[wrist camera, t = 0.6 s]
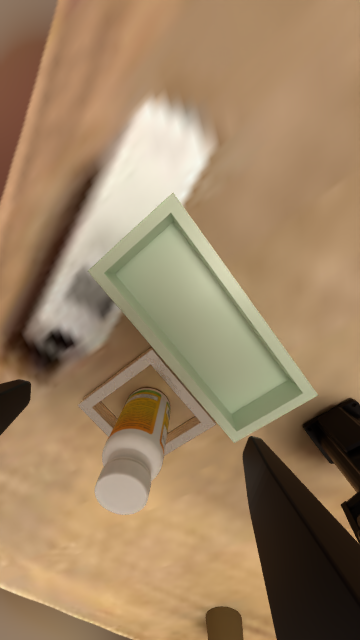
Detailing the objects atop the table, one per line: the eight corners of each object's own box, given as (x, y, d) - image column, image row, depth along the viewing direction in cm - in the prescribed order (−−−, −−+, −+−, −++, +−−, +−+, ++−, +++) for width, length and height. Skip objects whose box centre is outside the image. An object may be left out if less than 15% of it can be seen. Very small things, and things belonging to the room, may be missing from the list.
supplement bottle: (118, 402, 23) (69, 488, 14) (150, 378, 22) (121, 453, 13) (147, 431, 24) (119, 532, 15) (179, 409, 23) (172, 502, 14)
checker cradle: (214, 415, 23) (215, 424, 21) (144, 458, 25) (141, 469, 23) (154, 344, 21) (151, 349, 20) (84, 397, 23) (77, 405, 22)
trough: (297, 376, 21) (318, 395, 18) (227, 418, 23) (234, 443, 19) (176, 208, 18) (172, 192, 15) (105, 272, 20) (87, 271, 16)
